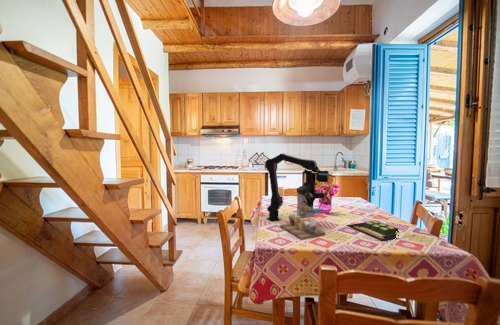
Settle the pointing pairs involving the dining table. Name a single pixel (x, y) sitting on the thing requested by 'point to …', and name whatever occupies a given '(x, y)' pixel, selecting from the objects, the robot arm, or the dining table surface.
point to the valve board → (299, 234)
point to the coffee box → (303, 205)
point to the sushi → (376, 230)
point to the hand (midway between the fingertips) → (309, 206)
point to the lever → (311, 211)
